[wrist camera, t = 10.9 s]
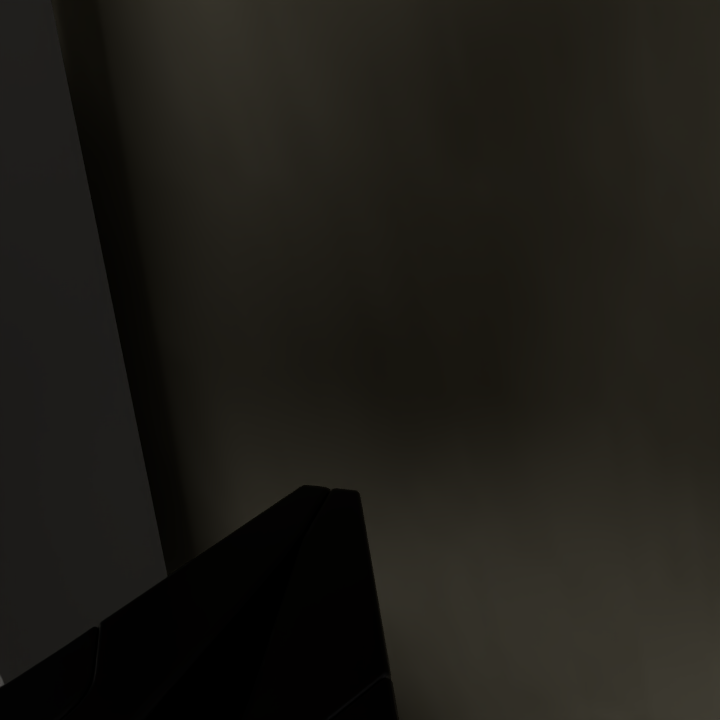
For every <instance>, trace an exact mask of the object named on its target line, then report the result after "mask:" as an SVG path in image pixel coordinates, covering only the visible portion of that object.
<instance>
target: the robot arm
mask: <svg viewBox="0 0 720 720" xmlns="http://www.w3.org/2000/svg"><path fill="white" fill-rule="evenodd" d="M0 720H399V717H398V711H397V705H396V700H395V694H394V688H393V683H392V681H391V672H390V666H389V661H388V655H387V649H386V643H385V637H384V631H383V626H382V620H381V614H380V608H379V602H378V596H377V590H376V585H375V579H374V573H373V567H372V561H371V555H370V550H369V544H368V538H367V532H366V526H365V520H364V515H363V509H362V503H361V497H360V493H359V492H358V491H355V490H347V489H338V488H335V489H332V490H330V489H329V488H327V487H320V486H311V485H303V486H301V487H299V488H298V489H296V490H295V491H293V492H292V493H290V494H289V495H287V496H286V497H285V498H283V499H282V500H280V501H279V502H277V503H276V504H274V505H273V506H271V507H270V508H268V509H267V510H265V511H264V512H262V513H261V514H259V515H258V516H256V517H255V518H253V519H252V520H251V521H249V522H248V523H246V524H245V525H243V526H242V527H240V528H239V529H237V530H236V531H234V532H233V533H231V534H230V535H228V536H227V537H225V538H224V539H222V540H221V541H219V542H218V543H216V544H215V545H214V546H212V547H211V548H209V549H208V550H206V551H205V552H203V553H202V554H200V555H199V556H197V557H196V558H194V559H193V560H191V561H190V562H188V563H187V564H185V565H184V566H182V567H181V568H180V569H178V570H177V571H175V572H174V573H172V574H171V575H169V576H168V577H166V578H165V579H163V580H162V581H160V582H159V583H157V584H156V585H154V586H153V587H151V588H150V589H148V590H147V591H146V592H144V593H143V594H141V595H140V596H138V597H137V598H135V599H134V600H132V601H131V602H129V603H128V604H126V605H125V606H123V607H122V608H120V609H119V610H117V611H116V612H114V613H113V614H111V615H110V616H109V617H107V618H106V619H104V620H103V621H101V622H100V624H99V628H98V627H96V626H94V627H92V628H90V629H89V630H87V631H86V632H84V633H83V634H82V635H80V636H79V637H77V638H76V639H74V640H73V641H71V642H70V643H68V644H67V645H65V646H64V647H62V648H61V649H59V650H58V651H56V652H55V653H53V654H51V655H50V656H48V657H47V658H45V659H44V660H42V661H41V662H39V663H38V664H36V665H34V666H33V667H31V668H30V669H28V670H27V671H25V672H24V673H22V674H21V675H19V676H18V677H16V678H14V679H13V680H11V681H9V682H8V683H6V684H4V685H3V686H1V687H0Z"/></svg>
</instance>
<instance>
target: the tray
mask: <svg viewBox="0 0 720 720" xmlns="http://www.w3.org/2000/svg"><path fill="white" fill-rule="evenodd" d="M166 577H168V576H167V571H166V566H165V561H164V556H163V551H162V546H161V541H160V537H159V532H158V527H157V522H156V517H155V512H154V507H153V502H152V497H151V492H150V487H149V482H148V477H147V472H146V467H145V462H144V457H143V453H142V448H141V443H140V438H139V433H138V428H137V423H136V418H135V413H134V408H133V403H132V398H131V393H130V388H129V383H128V378H127V373H126V369H125V364H124V359H123V354H122V349H121V344H120V339H119V334H118V329H117V324H116V319H115V314H114V309H113V304H112V299H111V294H110V289H109V285H108V280H107V275H106V270H105V265H104V260H103V255H102V250H101V245H100V240H99V235H98V230H97V225H96V220H95V215H94V210H93V205H92V201H91V196H90V191H89V186H88V181H87V176H86V171H85V166H84V161H83V156H82V151H81V146H80V141H79V136H78V131H77V126H76V121H75V117H74V112H73V107H72V102H71V97H70V92H69V87H68V82H67V77H66V72H65V67H64V62H63V57H62V52H61V47H60V42H59V37H58V33H57V28H56V23H55V18H54V13H53V8H52V3H51V0H0V687H1V686H3V685H4V684H6V683H8V682H9V681H11V680H13V679H14V678H16V677H18V676H19V675H21V674H22V673H24V672H25V671H27V670H28V669H30V668H31V667H33V666H34V665H36V664H38V663H39V662H41V661H42V660H44V659H45V658H47V657H48V656H50V655H51V654H53V653H55V652H56V651H58V650H59V649H61V648H62V647H64V646H65V645H67V644H68V643H70V642H71V641H73V640H74V639H76V638H77V637H79V636H80V635H82V634H83V633H84V632H86V631H87V630H89V629H90V628H92V627H94V626H96V627H98V628H99V624H100V622H101V621H103V620H104V619H106V618H107V617H109V616H110V615H111V614H113V613H114V612H116V611H117V610H119V609H120V608H122V607H123V606H125V605H126V604H128V603H129V602H131V601H132V600H134V599H135V598H137V597H138V596H140V595H141V594H143V593H144V592H146V591H147V590H148V589H150V588H151V587H153V586H154V585H156V584H157V583H159V582H160V581H162V580H163V579H165V578H166Z"/></svg>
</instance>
